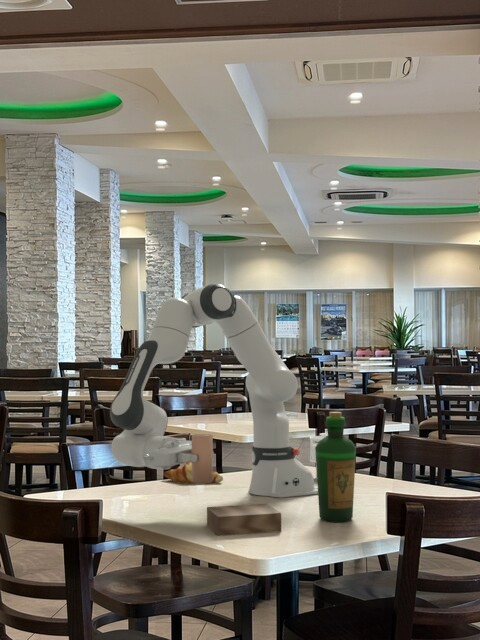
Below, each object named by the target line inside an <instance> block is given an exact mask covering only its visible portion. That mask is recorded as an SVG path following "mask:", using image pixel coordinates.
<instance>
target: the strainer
mask: <svg viewBox="0 0 480 640" xmlns="http://www.w3.org/2000/svg"><path fill="white" fill-rule="evenodd" d="M318 434H319V435H315V436H309V441H310V442H309V443H310V444H309V445H310V446H309V447H310V448H309V449H310V450H309V452H310V453H309V454H310V457H309V462H310V463H313V464H316V451H315V447H316V446H317V444H318V442H319V441H320V440H322V439H323V438H324V437H326V436H327V433H326V432H322V433H318ZM315 479H317V467H316V466H315Z"/></svg>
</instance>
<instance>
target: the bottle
mask: <svg viewBox="0 0 480 640" xmlns="http://www.w3.org/2000/svg"><path fill="white" fill-rule="evenodd" d="M342 414H343V413H342V412H341V411H329V416H326V419H325V423H324V424H325V425H324V426H325V427H326V428H327V429H326V430H327V435H326V437H324V438H323V439H322V440H320V441H319V442H317V443H318V444H317V446H316V447H315V451H316V463H315V468H316V467H317V478H316V482H317V486H318V494H317V495H318V512H319V514H318V515H319V518H320V519H321V520H323V521H325V522H329V523H345V522H349V521H351V520H352V519H353V518H354V517H353V515H354V496H355V495H354V494H355V474H356V473H355V472H356V453H357V446H356V445H355V444H354V442H353V441H352V440H351V439H349V438H348V437H346V436H344V429H345V427H347V424H346V420H345V416H342Z"/></svg>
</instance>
